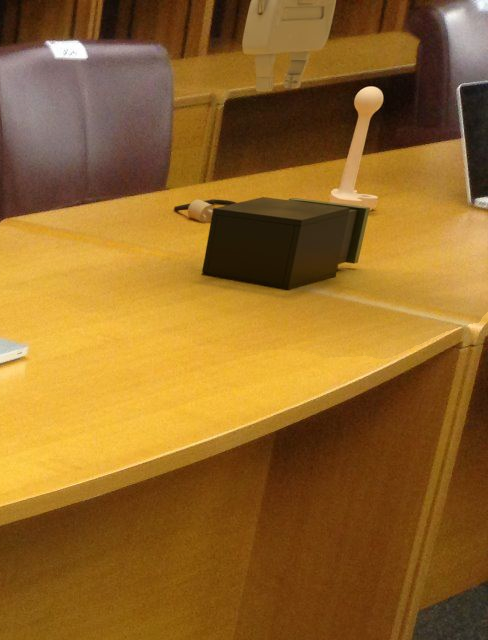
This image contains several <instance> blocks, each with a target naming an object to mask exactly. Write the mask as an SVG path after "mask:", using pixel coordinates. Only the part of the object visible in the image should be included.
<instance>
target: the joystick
mask: <svg viewBox="0 0 488 640" xmlns="http://www.w3.org/2000/svg"><path fill="white" fill-rule="evenodd" d="M383 103H384V94H383V91H382V90H381V89H380V88H379V87H376V86H366V87H364V88H362V89H360V90H359V91H358V92H357V94H356V95H355V97H354V102H353V105H354V108H355V110H356V112H357V121H356V125H355V129H354V132H353V135H352V139H351V142H350V147H349V151H348V153H347V158H346V161H345V164H344V169H343V171H342V174H341V175H342V176H341V179H340V183H339V187H338V188H334V189H332V190H331V192H330V195H329V200H328V202H331V203H339V204H347V205H355V206H363V207H370V210H369V212H371V211H373V209H376V207H377V204H378V200H379V196H377V195H374V194H368V193H358V190H357V189H355V187H356V184H357V183H356V182H357V178H358V173H359V169H360V165H361V162H362V156H363V153H364V147H365V143H366V139H367V136H368V135H367V134H368V130H369V126H370V121H371V119H372V117H373V115H374V114H376V112H377V111H378V110H379V109H380V108H381V107H382V106H383Z"/></svg>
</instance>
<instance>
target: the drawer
mask: <svg viewBox="0 0 488 640" xmlns="http://www.w3.org/2000/svg"><path fill="white" fill-rule="evenodd" d="M288 200H291V201H299V202H307V203H315V204H323V205H331V206H339V207H347V208H350V211H349V216H348V220H347V225H346V230H345V234H344V239H343V244H342V248H341V253H340V258H339V262H338V265H341V264H345V263H347V264H352V265H353V264H357V263H359V259H360V255H361V250H362V246H363V241H364V237H365V232H366V227H367V223H368V220H369V214H370V211H369V210H370V207H363V206H355V205H347V204H339V203H331V202H329V201H323V200H313V199H306V198H297V197H290V198H288Z"/></svg>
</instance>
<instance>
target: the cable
mask: <svg viewBox="0 0 488 640" xmlns="http://www.w3.org/2000/svg"><path fill="white" fill-rule="evenodd" d="M235 203H237V202H236V201H233V200H228V199H227V200H226V199H213V198H212V199H207V200H202V199H198V198H197V199H195V200H193V201H191V203H186V204H180V205H175V206H174V208H173V210H174V211H176V212H177V211H187V216H188V217H189V218H191V219H193V220H195V221H197V222H200V223H211V219H212V212H213V208H216V207H215V206H214V205H224V206H226V205H231V204H235Z"/></svg>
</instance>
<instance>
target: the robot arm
mask: <svg viewBox="0 0 488 640" xmlns="http://www.w3.org/2000/svg"><path fill="white" fill-rule="evenodd" d="M336 3H337V0H250V4H249V7H248V12H247V16H246V21H245V24H244V30H243V34H242V35H243V36H242V43H241V44H242V45H241V46H242V53H243V54H244V55H254V56H255V59H254V69H255V77H256V80H255V87H254V89H255V91H256V92H257V93H258V92H259V93H260V92H261V93H267V92H271V91H272V90H274V83H275V79H276V77H275V76H274V64H276V59H277V55H279V54H289V53H290V54H289V61H290V62H289V66H288V70H287V72H286V73H285V74H284V79H283V83H282V84H283V85H282V86H283V88H284V89H298V88H300V87H301V85H302V79H303V74H304V73H305V70H306V68H307V66H308V64H309V61H310V58H311V57H310V56H311V52H315V51H322V50H323V49H324V48H325V46H326V44H327V41H328V39H329V36H330V32H331V27H332V23H333V19H334V14H335V9H336Z"/></svg>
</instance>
